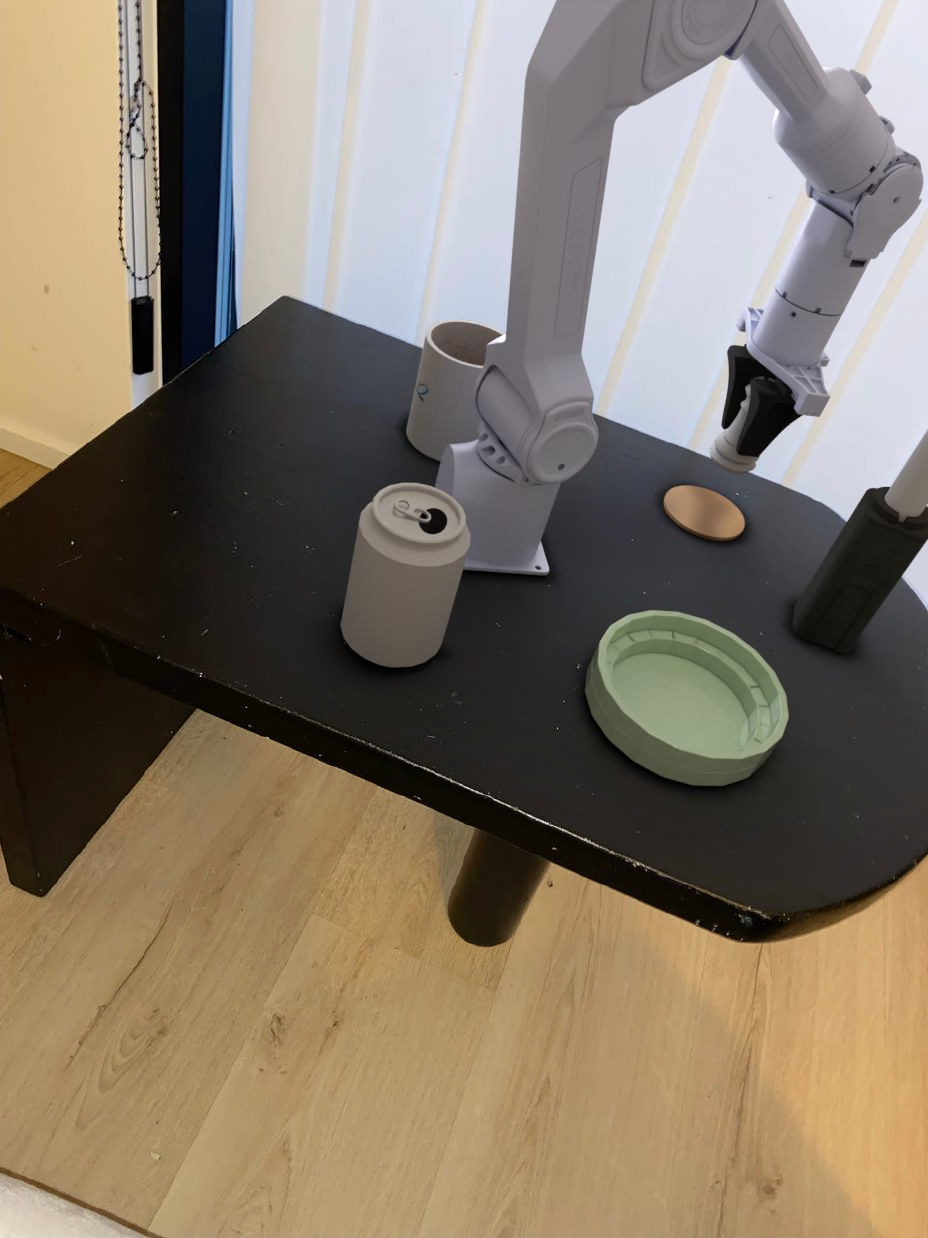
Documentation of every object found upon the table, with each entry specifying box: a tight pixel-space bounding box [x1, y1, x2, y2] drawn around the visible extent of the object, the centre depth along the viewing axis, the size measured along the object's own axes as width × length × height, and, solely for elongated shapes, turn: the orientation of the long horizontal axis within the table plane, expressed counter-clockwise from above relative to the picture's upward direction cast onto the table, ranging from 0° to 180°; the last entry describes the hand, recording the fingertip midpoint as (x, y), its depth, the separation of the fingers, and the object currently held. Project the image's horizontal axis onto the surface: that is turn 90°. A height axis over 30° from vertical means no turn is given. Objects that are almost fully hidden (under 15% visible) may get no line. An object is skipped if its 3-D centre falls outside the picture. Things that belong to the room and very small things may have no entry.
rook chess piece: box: [708, 376, 774, 475], centre depth 83 cm, size 4×4×8 cm
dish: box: [584, 609, 790, 787], centre depth 69 cm, size 14×14×4 cm
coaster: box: [663, 484, 746, 542], centre depth 90 cm, size 8×8×1 cm
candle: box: [791, 429, 928, 654], centre depth 73 cm, size 5×5×25 cm
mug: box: [406, 318, 506, 462], centre depth 88 cm, size 12×9×10 cm
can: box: [340, 482, 471, 668], centre depth 65 cm, size 8×8×12 cm
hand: (739, 441), depth 85 cm, fingers closed on rook chess piece, 3 cm apart
